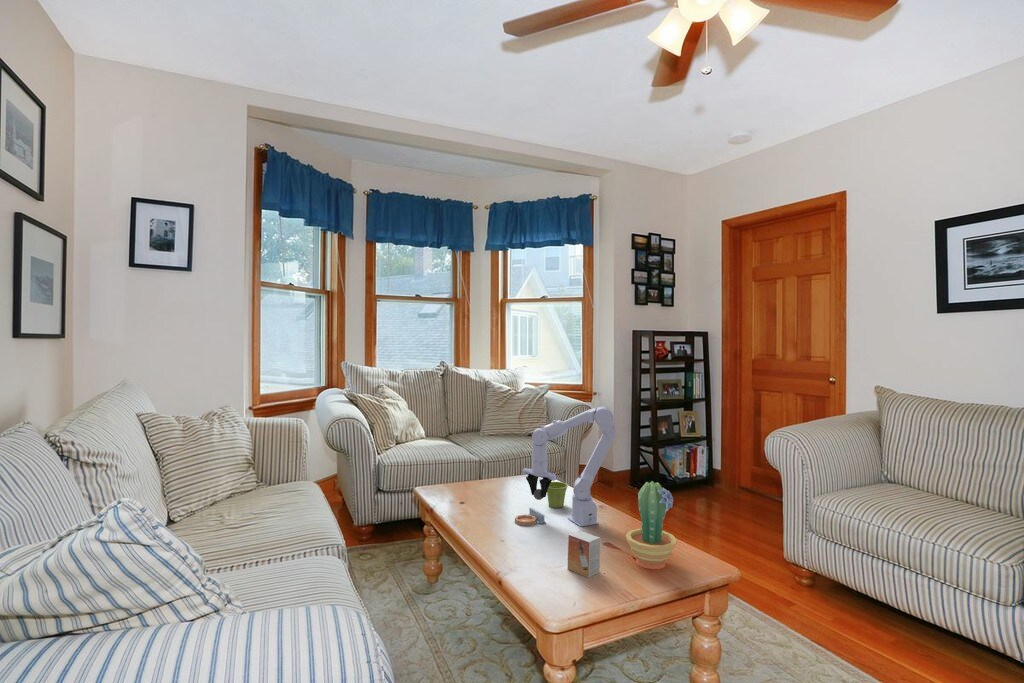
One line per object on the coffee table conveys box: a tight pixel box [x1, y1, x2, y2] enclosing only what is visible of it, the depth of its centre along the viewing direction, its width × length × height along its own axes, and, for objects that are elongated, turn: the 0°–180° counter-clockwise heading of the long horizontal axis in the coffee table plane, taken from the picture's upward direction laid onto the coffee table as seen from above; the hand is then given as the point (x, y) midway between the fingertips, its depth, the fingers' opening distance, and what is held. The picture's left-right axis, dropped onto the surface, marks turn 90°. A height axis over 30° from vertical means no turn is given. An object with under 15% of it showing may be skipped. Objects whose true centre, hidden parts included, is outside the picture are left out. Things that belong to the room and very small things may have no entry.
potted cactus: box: [625, 480, 678, 570], centre depth 164 cm, size 15×15×25 cm
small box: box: [567, 530, 601, 578], centre depth 158 cm, size 8×6×10 cm
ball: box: [533, 488, 543, 501], centre depth 203 cm, size 4×4×4 cm
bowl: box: [514, 514, 537, 527], centre depth 199 cm, size 8×8×1 cm
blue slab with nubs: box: [528, 507, 547, 525], centre depth 201 cm, size 10×2×3 cm, turn 26°
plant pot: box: [546, 481, 569, 509], centre depth 218 cm, size 9×9×9 cm
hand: (538, 495), depth 203 cm, fingers closed on ball, 4 cm apart
